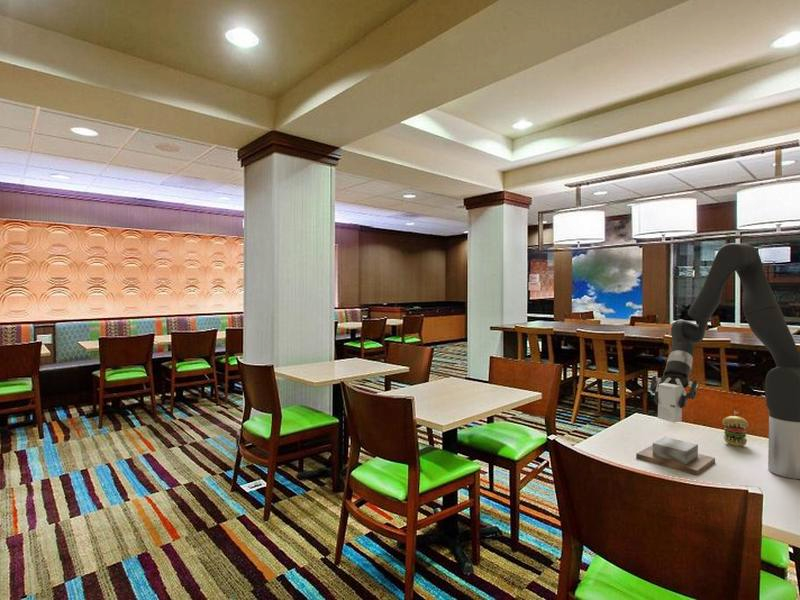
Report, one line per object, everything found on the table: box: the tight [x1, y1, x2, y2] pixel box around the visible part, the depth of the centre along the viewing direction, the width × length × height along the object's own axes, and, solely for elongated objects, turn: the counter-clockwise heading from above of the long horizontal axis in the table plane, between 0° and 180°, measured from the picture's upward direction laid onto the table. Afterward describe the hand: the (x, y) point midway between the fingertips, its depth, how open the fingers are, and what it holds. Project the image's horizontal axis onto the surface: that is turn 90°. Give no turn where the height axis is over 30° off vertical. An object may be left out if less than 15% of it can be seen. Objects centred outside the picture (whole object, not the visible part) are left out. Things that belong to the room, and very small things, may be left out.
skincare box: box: [657, 382, 683, 423], centre depth 151 cm, size 6×4×12 cm
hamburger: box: [722, 410, 749, 447], centre depth 162 cm, size 8×7×12 cm
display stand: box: [636, 436, 716, 476], centre depth 148 cm, size 18×16×6 cm
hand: (668, 404), depth 150 cm, fingers closed on skincare box, 6 cm apart
